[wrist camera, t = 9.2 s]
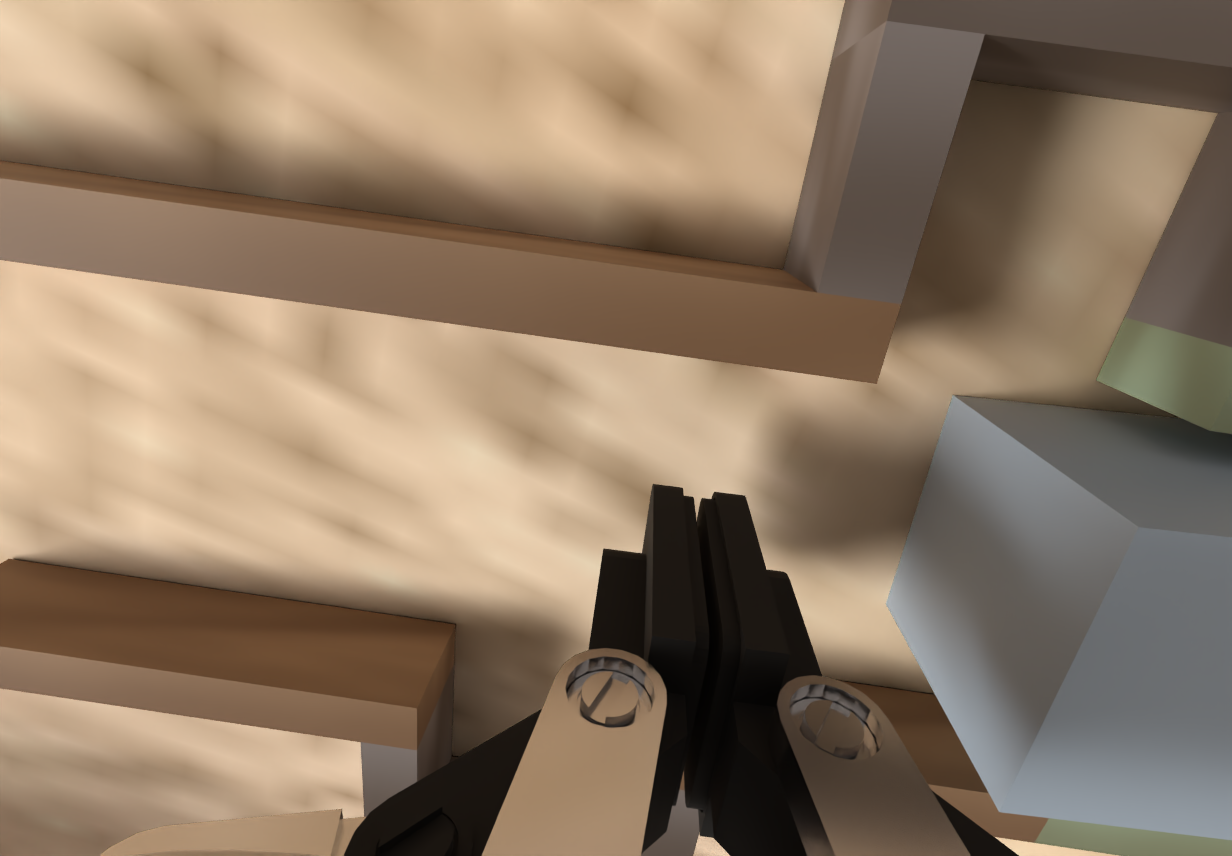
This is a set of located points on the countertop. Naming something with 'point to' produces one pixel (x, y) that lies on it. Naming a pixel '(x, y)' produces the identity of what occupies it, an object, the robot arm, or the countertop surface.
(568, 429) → the countertop surface
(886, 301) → the lane
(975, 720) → the block
